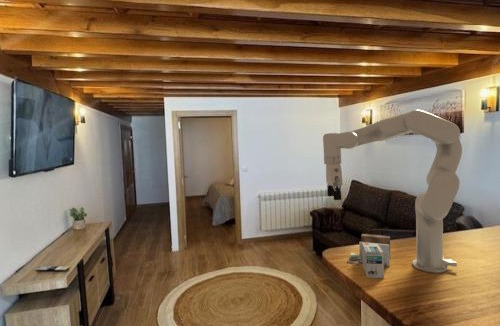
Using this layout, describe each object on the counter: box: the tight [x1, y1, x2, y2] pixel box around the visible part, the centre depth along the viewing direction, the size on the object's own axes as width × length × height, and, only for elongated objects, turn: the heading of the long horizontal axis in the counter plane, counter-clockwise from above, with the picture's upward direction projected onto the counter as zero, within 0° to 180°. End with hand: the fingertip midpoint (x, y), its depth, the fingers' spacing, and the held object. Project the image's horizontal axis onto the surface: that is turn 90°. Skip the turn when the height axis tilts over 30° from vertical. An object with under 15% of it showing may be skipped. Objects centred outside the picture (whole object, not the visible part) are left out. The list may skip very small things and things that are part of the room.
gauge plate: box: [348, 241, 391, 267], centre depth 132 cm, size 16×1×9 cm, turn 63°
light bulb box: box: [362, 243, 385, 279], centre depth 123 cm, size 11×7×11 cm, turn 168°
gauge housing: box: [347, 233, 391, 265], centre depth 136 cm, size 17×12×10 cm
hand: (334, 197), depth 137 cm, fingers open, 9 cm apart
